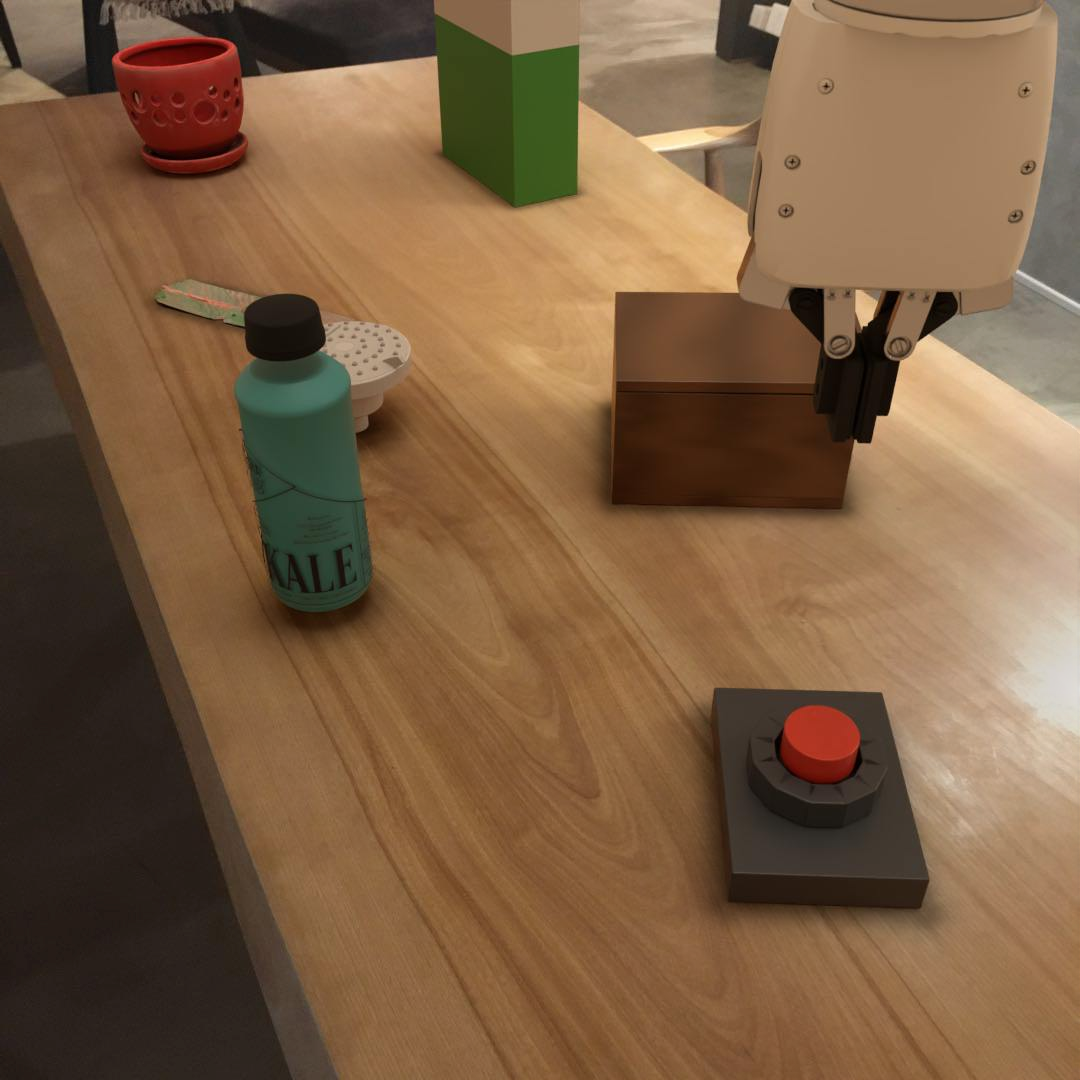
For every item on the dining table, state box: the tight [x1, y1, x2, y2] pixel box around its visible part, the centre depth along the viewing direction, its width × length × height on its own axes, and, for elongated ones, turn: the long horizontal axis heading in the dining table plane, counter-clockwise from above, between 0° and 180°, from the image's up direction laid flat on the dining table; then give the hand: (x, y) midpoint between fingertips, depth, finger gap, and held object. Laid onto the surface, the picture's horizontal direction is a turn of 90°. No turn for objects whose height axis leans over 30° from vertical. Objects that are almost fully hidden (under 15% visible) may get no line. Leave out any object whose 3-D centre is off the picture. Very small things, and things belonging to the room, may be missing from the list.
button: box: [780, 705, 860, 784], centre depth 57 cm, size 4×4×2 cm
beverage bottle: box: [233, 293, 376, 613], centre depth 67 cm, size 6×7×20 cm
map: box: [154, 278, 357, 328], centre depth 103 cm, size 5×20×1 cm, turn 63°
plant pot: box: [111, 36, 249, 175], centre depth 129 cm, size 13×13×12 cm
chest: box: [610, 318, 856, 509], centre depth 82 cm, size 16×13×9 cm
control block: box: [710, 687, 931, 909], centre depth 59 cm, size 12×9×4 cm
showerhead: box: [319, 320, 412, 434], centre depth 86 cm, size 9×7×10 cm
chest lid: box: [614, 291, 862, 394], centre depth 79 cm, size 17×13×1 cm
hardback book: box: [433, 0, 581, 208], centre depth 121 cm, size 18×7×24 cm, turn 29°
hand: (846, 425), depth 51 cm, fingers closed
